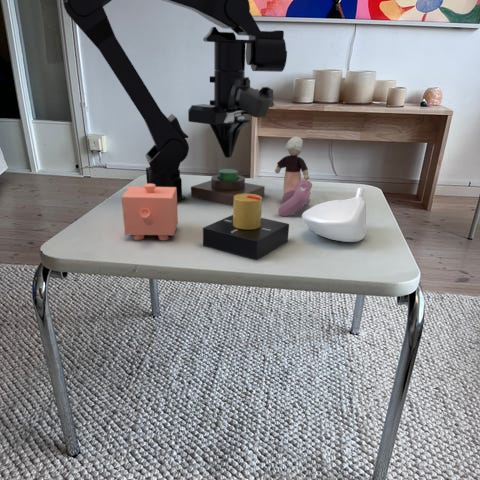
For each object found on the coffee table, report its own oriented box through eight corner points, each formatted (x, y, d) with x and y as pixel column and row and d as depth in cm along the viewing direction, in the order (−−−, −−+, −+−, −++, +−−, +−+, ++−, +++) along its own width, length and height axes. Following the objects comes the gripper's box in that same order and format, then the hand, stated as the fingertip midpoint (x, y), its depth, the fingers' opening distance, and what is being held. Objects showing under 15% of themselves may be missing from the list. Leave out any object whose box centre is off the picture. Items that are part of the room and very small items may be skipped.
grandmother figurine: (310, 202, 98) (317, 137, 91) (304, 207, 95) (311, 139, 88) (276, 197, 101) (280, 133, 94) (269, 201, 98) (272, 136, 91)
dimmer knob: (227, 226, 75) (228, 195, 73) (242, 219, 78) (243, 190, 76) (251, 231, 73) (252, 200, 71) (265, 224, 76) (267, 194, 74)
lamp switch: (214, 179, 98) (214, 171, 98) (225, 176, 101) (225, 168, 101) (230, 182, 97) (230, 174, 96) (241, 179, 100) (241, 170, 99)
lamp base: (191, 197, 100) (190, 177, 98) (218, 187, 107) (218, 169, 105) (238, 207, 94) (239, 187, 92) (264, 196, 102) (265, 177, 100)
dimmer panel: (203, 245, 76) (202, 226, 74) (237, 229, 83) (237, 211, 82) (256, 260, 71) (257, 240, 70) (288, 241, 78) (289, 222, 77)
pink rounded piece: (296, 226, 90) (316, 194, 86) (275, 213, 89) (294, 181, 86) (299, 211, 98) (318, 181, 95) (280, 199, 98) (298, 169, 94)
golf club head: (391, 186, 79) (346, 164, 72) (381, 249, 80) (336, 234, 72) (341, 192, 87) (296, 173, 80) (332, 250, 88) (287, 236, 80)
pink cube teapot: (121, 247, 74) (116, 195, 70) (135, 223, 84) (131, 175, 80) (172, 248, 74) (169, 196, 70) (179, 224, 85) (177, 176, 81)
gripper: (238, 74, 78) (235, 170, 86) (290, 72, 92) (284, 155, 100) (185, 70, 84) (187, 162, 91) (242, 69, 97) (240, 149, 105)
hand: (228, 157), depth 97 cm, fingers closed
